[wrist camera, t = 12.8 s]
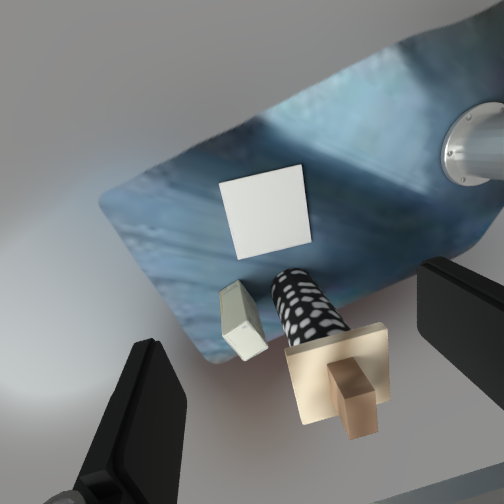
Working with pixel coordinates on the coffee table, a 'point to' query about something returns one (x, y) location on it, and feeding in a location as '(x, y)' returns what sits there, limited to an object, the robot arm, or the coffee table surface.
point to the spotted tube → (304, 308)
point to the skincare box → (241, 321)
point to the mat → (267, 211)
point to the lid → (342, 378)
